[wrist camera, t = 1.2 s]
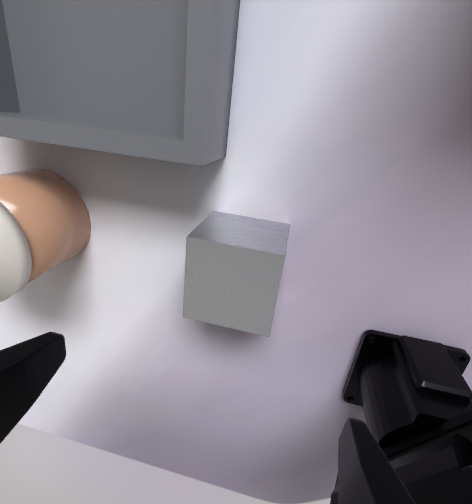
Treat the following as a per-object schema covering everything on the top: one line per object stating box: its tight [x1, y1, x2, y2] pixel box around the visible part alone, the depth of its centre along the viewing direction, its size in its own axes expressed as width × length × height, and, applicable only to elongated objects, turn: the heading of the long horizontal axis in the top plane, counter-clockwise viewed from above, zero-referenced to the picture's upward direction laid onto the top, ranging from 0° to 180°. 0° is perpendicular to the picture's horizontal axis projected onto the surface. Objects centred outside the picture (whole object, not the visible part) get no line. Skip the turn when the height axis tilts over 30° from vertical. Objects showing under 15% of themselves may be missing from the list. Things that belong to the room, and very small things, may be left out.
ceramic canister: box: [0, 169, 91, 302], centre depth 19 cm, size 7×7×7 cm
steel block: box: [183, 211, 290, 337], centre depth 18 cm, size 5×5×5 cm
